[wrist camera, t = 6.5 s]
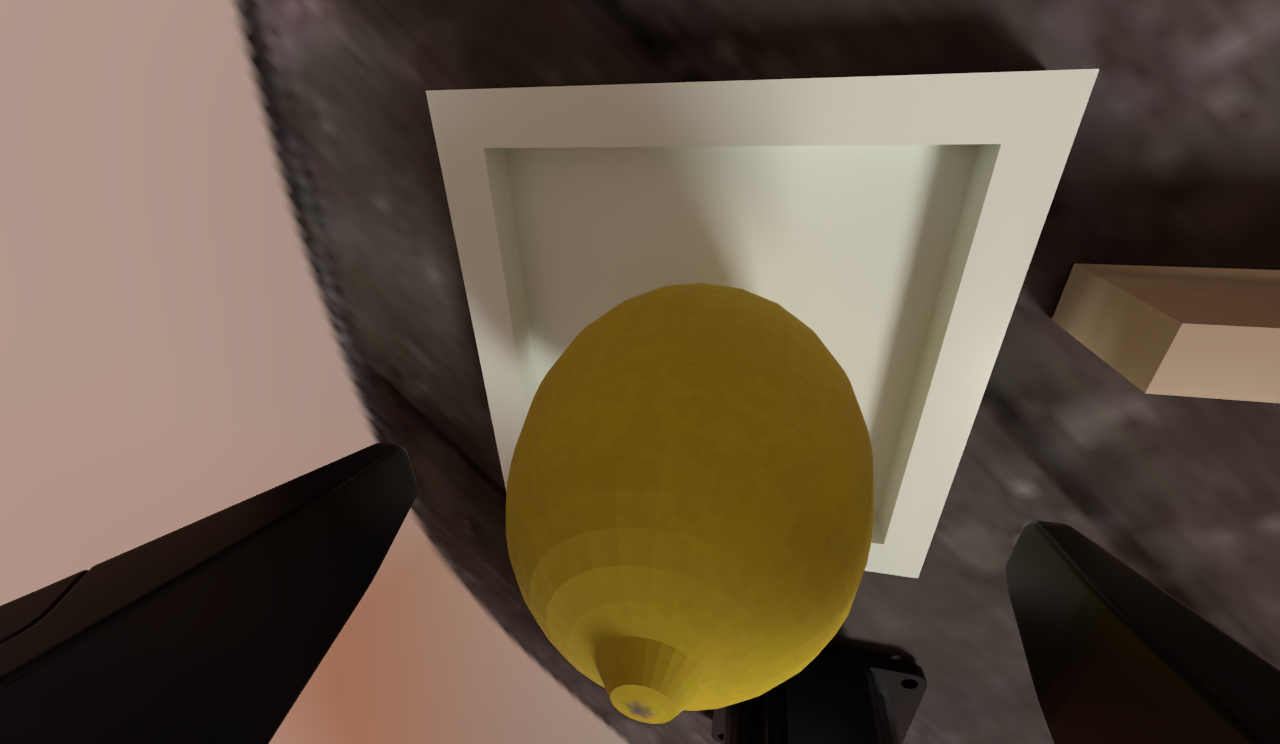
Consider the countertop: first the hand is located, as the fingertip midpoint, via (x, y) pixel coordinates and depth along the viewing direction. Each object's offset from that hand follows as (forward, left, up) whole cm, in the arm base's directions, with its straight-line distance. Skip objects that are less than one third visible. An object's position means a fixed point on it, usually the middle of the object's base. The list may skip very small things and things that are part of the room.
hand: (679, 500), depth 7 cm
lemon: (0, 0, -5) cm, 5 cm away
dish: (0, 0, -6) cm, 6 cm away
